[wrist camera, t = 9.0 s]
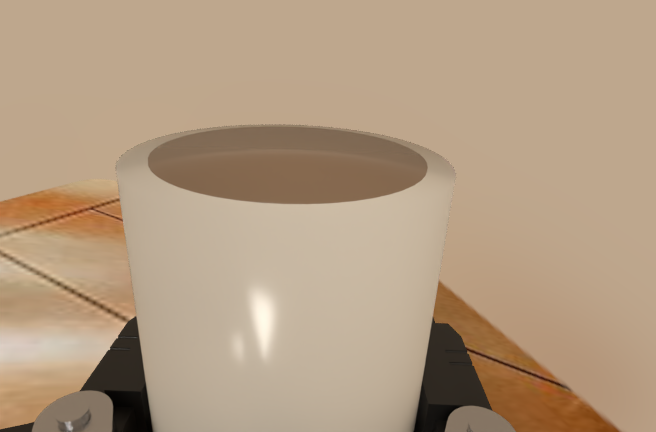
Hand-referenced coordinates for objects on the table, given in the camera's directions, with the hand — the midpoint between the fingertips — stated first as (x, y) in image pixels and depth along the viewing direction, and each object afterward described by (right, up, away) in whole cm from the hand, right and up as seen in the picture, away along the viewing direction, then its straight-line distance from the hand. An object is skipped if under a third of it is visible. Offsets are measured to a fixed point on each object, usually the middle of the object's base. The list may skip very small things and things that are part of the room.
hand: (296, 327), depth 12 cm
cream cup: (0, -7, 0) cm, 7 cm away
